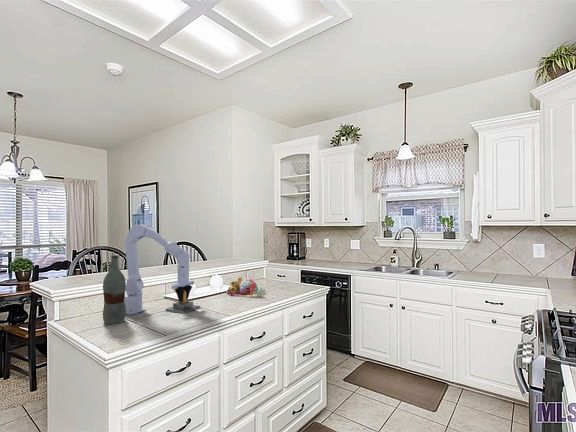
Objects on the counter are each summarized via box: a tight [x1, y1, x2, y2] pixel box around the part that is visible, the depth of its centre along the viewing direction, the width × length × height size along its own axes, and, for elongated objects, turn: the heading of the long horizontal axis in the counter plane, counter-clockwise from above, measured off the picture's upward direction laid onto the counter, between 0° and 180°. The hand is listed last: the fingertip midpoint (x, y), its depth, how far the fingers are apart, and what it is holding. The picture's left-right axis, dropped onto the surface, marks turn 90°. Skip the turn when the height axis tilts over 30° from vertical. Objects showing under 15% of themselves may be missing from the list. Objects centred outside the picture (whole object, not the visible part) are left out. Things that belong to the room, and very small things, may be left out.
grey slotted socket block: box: [165, 300, 201, 315], centre depth 170 cm, size 12×14×4 cm
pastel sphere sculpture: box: [225, 276, 267, 298], centre depth 209 cm, size 25×24×9 cm
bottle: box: [102, 255, 127, 326], centre depth 150 cm, size 9×9×30 cm
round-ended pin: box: [180, 291, 187, 304], centre depth 170 cm, size 3×3×7 cm
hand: (183, 300), depth 170 cm, fingers closed on round-ended pin, 3 cm apart
